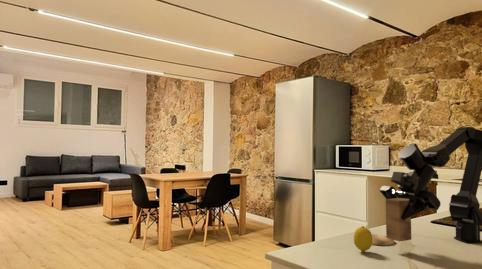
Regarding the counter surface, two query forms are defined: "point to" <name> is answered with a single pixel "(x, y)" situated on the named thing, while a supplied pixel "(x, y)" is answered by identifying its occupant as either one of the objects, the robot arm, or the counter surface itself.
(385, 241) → the cork trivet
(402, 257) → the counter surface
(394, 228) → the walnut block
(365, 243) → the lemon
